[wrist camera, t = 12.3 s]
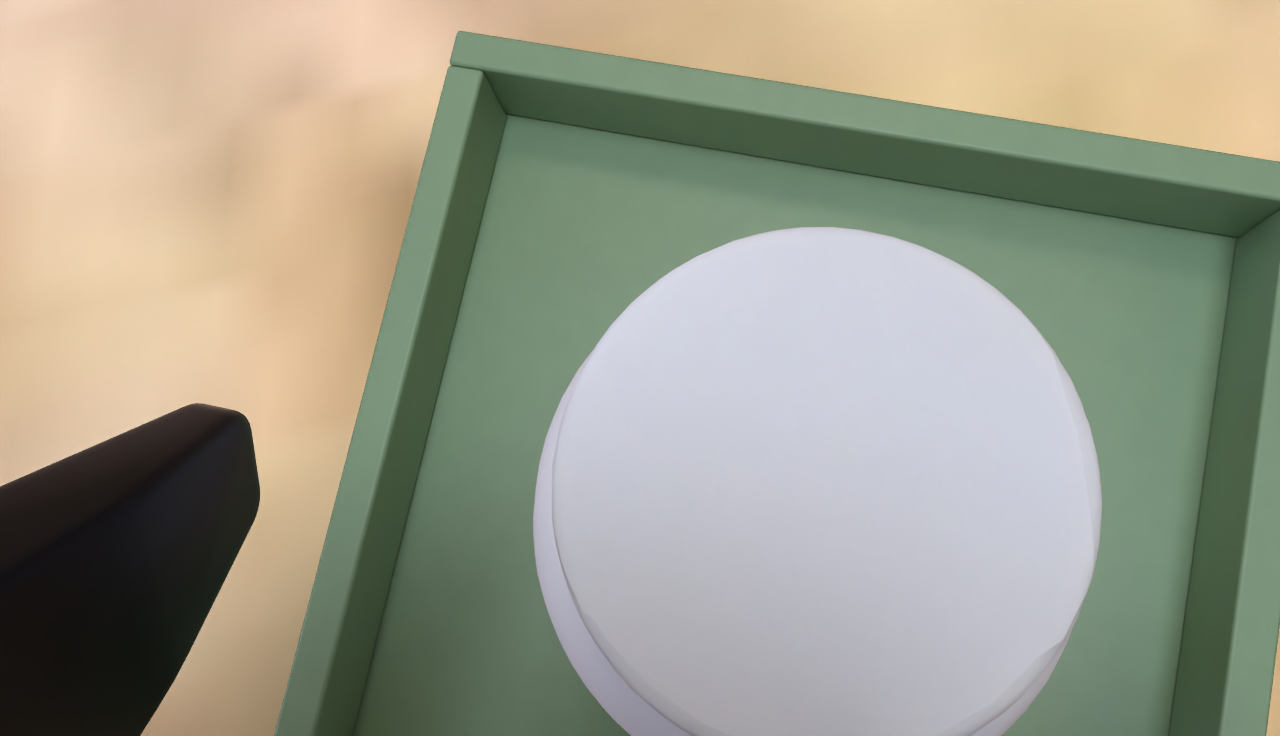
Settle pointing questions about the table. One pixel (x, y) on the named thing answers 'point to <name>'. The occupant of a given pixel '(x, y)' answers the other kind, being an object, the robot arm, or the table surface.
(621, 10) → the table surface
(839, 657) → the supplement bottle
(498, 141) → the green tray
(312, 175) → the table surface
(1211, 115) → the table surface
